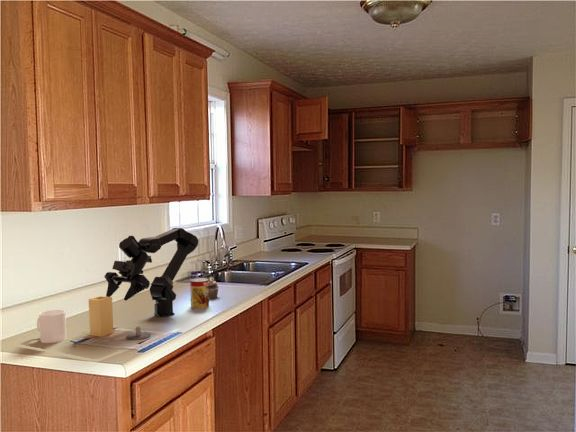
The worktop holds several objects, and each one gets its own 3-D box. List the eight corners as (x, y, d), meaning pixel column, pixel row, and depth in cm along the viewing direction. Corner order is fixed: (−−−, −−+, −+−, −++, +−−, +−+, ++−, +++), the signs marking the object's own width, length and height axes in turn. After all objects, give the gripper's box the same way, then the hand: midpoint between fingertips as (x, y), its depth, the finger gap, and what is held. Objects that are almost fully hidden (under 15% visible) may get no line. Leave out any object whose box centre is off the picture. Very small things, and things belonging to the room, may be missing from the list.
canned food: (210, 307, 223) (209, 280, 222) (192, 309, 221) (191, 281, 220) (207, 303, 230) (206, 277, 230) (189, 305, 228) (189, 278, 227)
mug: (28, 342, 177) (26, 313, 177) (48, 335, 185) (47, 307, 184) (51, 346, 172) (49, 316, 171) (71, 339, 179) (70, 311, 178)
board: (82, 339, 179) (81, 327, 179) (101, 331, 189) (101, 319, 189) (140, 344, 173) (140, 331, 172) (157, 334, 183) (156, 322, 183)
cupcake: (199, 300, 238) (198, 279, 238) (198, 296, 247) (197, 275, 247) (219, 298, 240) (219, 277, 240) (217, 294, 250) (217, 274, 249)
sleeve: (102, 330, 187) (100, 295, 186) (113, 332, 184) (112, 297, 183) (90, 334, 182) (88, 299, 181) (101, 336, 179) (99, 300, 178)
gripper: (107, 251, 197) (84, 284, 188) (143, 253, 188) (121, 288, 179) (123, 268, 204) (102, 301, 195) (158, 271, 195) (138, 305, 186)
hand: (115, 298), depth 189 cm, fingers open, 9 cm apart
